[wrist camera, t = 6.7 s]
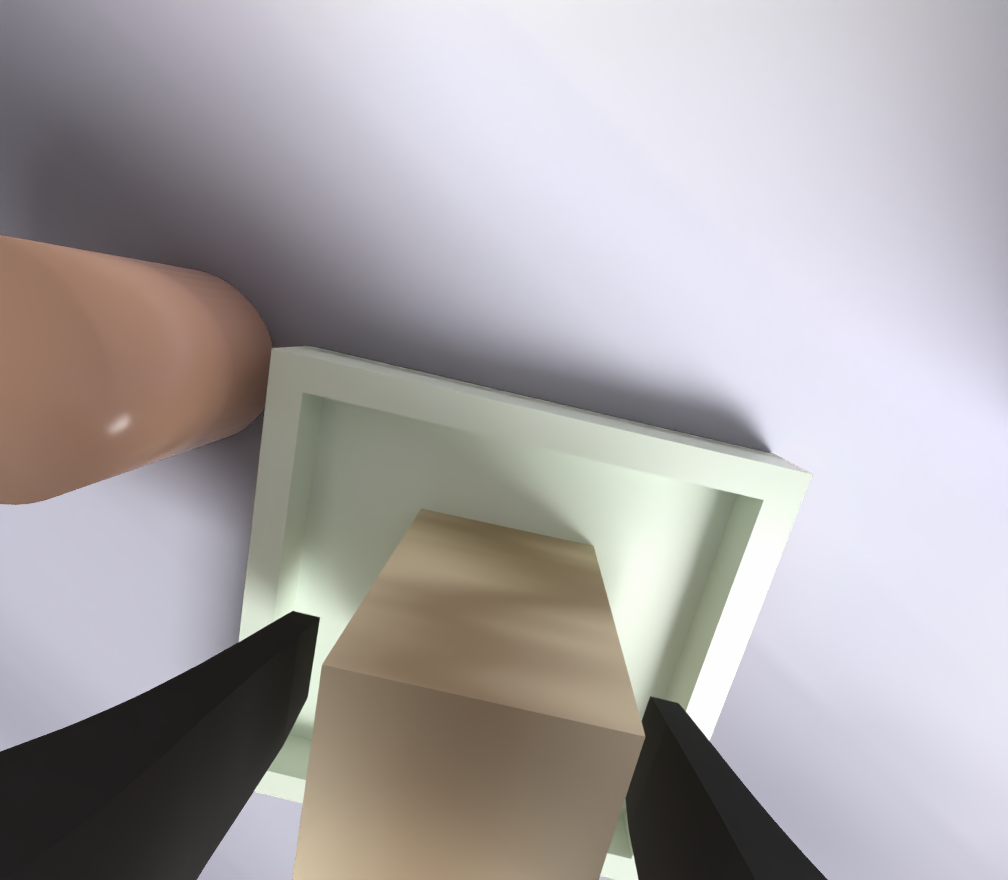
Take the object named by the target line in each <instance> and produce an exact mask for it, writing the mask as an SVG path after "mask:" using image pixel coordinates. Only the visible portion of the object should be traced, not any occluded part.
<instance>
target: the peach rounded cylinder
mask: <svg viewBox="0 0 1008 880" xmlns="http://www.w3.org/2000/svg"><path fill="white" fill-rule="evenodd" d="M272 348H273V344H272V341H271V338H270V335H269V332H268V330H267V328H266V325H265V323H264V321H263V319H262V318H261V316H260V315H259V313H258V311H257V310H256V309H255V307H254V306H253V305H252V304H251V302H250V301H249V300H248V299H247V298H246V297H245V296H244V295H243V294H242V293H241V292H240V291H238V290H237V289H236V288H235V287H233V286H232V285H231V284H229V283H227V282H226V281H224V280H222V279H221V278H218V277H216V276H214V275H212V274H209V273H206V272H203V271H199V270H194V269H188V268H182V267H177V266H171V265H166V264H160V263H154V262H149V261H143V260H138V259H132V258H126V257H121V256H115V255H110V254H104V253H99V252H93V251H87V250H82V249H76V248H71V247H65V246H59V245H54V244H48V243H43V242H37V241H31V240H26V239H20V238H15V237H9V236H3V235H0V504H12V505H18V504H29V503H35V502H39V501H43V500H47V499H50V498H53V497H56V496H59V495H62V494H64V493H67V492H70V491H73V490H76V489H79V488H82V487H85V486H88V485H90V484H93V483H96V482H99V481H102V480H105V479H108V478H111V477H113V476H116V475H119V474H122V473H125V472H128V471H131V470H134V469H137V468H139V467H142V466H145V465H148V464H151V463H154V462H157V461H160V460H162V459H165V458H168V457H171V456H174V455H177V454H180V453H183V452H186V451H188V450H191V449H194V448H197V447H200V446H203V445H206V444H209V443H211V442H214V441H217V440H220V439H223V438H226V437H229V436H231V435H234V434H236V433H238V432H240V431H241V430H243V429H245V428H246V427H247V426H249V425H250V424H251V423H252V422H253V421H254V420H255V419H256V418H257V417H258V416H259V415H260V413H261V412H262V410H263V409H264V408H265V403H266V394H267V385H268V376H269V367H270V359H271V350H272Z"/></svg>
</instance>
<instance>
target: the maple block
mask: <svg viewBox="0 0 1008 880" xmlns="http://www.w3.org/2000/svg"><path fill="white" fill-rule="evenodd" d="M644 740H645V733H644V729H643V726H642V722H641V718H640V715H639V711H638V707H637V704H636V700H635V696H634V693H633V689H632V685H631V682H630V678H629V674H628V671H627V667H626V663H625V659H624V656H623V652H622V648H621V645H620V641H619V637H618V634H617V630H616V626H615V623H614V619H613V615H612V612H611V608H610V604H609V601H608V597H607V593H606V590H605V586H604V582H603V578H602V575H601V571H600V567H599V564H598V560H597V556H596V553H595V549H594V546H591V545H587V544H582V543H578V542H573V541H568V540H564V539H559V538H555V537H550V536H545V535H541V534H536V533H532V532H527V531H522V530H518V529H513V528H509V527H504V526H499V525H495V524H490V523H486V522H481V521H476V520H472V519H467V518H463V517H458V516H453V515H449V514H444V513H440V512H435V511H430V510H426V509H421V510H420V511H419V513H418V514H417V516H416V518H415V519H414V521H413V522H412V524H411V525H410V527H409V529H408V530H407V532H406V533H405V535H404V536H403V538H402V540H401V541H400V543H399V544H398V546H397V547H396V549H395V551H394V552H393V554H392V555H391V557H390V558H389V560H388V562H387V563H386V565H385V566H384V568H383V569H382V571H381V573H380V574H379V576H378V577H377V579H376V580H375V582H374V584H373V585H372V587H371V588H370V590H369V591H368V593H367V595H366V596H365V598H364V599H363V601H362V602H361V604H360V606H359V607H358V609H357V610H356V612H355V613H354V615H353V617H352V618H351V620H350V621H349V623H348V624H347V626H346V628H345V629H344V631H343V632H342V634H341V635H340V637H339V639H338V640H337V642H336V643H335V645H334V646H333V648H332V650H331V651H330V653H329V654H328V656H327V657H326V659H325V661H324V662H323V664H322V668H321V675H320V682H319V689H318V697H317V704H316V711H315V718H314V726H313V733H312V740H311V747H310V755H309V762H308V769H307V776H306V784H305V791H304V798H303V806H302V813H301V820H300V827H299V835H298V842H297V849H296V856H295V864H294V871H293V878H292V880H599V877H600V874H601V871H602V868H603V865H604V862H605V859H606V856H607V853H608V850H609V847H610V844H611V840H612V837H613V834H614V831H615V828H616V825H617V822H618V819H619V816H620V813H621V810H622V807H623V804H624V801H625V798H626V795H627V792H628V789H629V785H630V782H631V779H632V776H633V773H634V770H635V767H636V764H637V761H638V758H639V755H640V752H641V749H642V746H643V743H644Z"/></svg>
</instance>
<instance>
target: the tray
mask: <svg viewBox="0 0 1008 880" xmlns="http://www.w3.org/2000/svg"><path fill="white" fill-rule="evenodd" d="M812 476H813V474H811V473H809V472H808V471H806V470H804V469H802V468H800V467H798V466H796V465H794V464H792V463H790V462H788V461H786V460H784V459H782V458H781V457H779V456H777V455H775V454H772V453H768V452H764V451H759V450H755V449H751V448H747V447H742V446H738V445H734V444H729V443H725V442H721V441H717V440H712V439H708V438H704V437H699V436H695V435H691V434H686V433H682V432H678V431H674V430H669V429H665V428H661V427H656V426H652V425H648V424H644V423H639V422H635V421H631V420H626V419H622V418H618V417H614V416H609V415H605V414H601V413H596V412H592V411H588V410H583V409H579V408H575V407H571V406H566V405H562V404H558V403H553V402H549V401H545V400H541V399H536V398H532V397H528V396H523V395H519V394H515V393H510V392H506V391H502V390H498V389H493V388H489V387H485V386H480V385H476V384H472V383H468V382H463V381H459V380H455V379H450V378H446V377H442V376H437V375H433V374H429V373H425V372H420V371H416V370H412V369H407V368H403V367H399V366H395V365H390V364H386V363H382V362H377V361H373V360H369V359H364V358H360V357H356V356H352V355H347V354H343V353H339V352H334V351H330V350H326V349H322V348H317V347H313V346H295V347H281V348H272V350H271V359H270V367H269V376H268V385H267V394H266V403H265V412H264V421H263V429H262V438H261V447H260V456H259V465H258V474H257V483H256V492H255V500H254V509H253V518H252V527H251V536H250V545H249V554H248V563H247V571H246V580H245V589H244V598H243V607H242V616H241V625H240V633H239V642H240V641H242V640H243V639H245V638H247V637H248V636H250V635H252V634H254V633H255V632H257V631H259V630H260V629H262V628H264V627H265V626H267V625H269V624H271V623H272V622H274V621H276V620H277V619H279V618H281V617H283V616H284V615H286V614H288V613H290V612H291V611H296V612H300V613H304V614H308V615H312V616H317V617H320V622H319V628H318V635H317V641H316V648H315V654H314V661H313V667H312V674H311V680H310V686H309V693H308V698H307V700H306V702H305V704H304V706H303V708H302V710H301V712H300V714H299V716H298V718H297V720H296V722H295V724H294V726H293V728H292V730H291V732H290V734H289V736H288V737H287V739H286V741H285V743H284V745H283V747H282V748H281V750H280V752H279V753H278V755H277V756H276V758H275V759H274V761H273V762H272V764H271V766H270V767H269V769H268V770H267V772H266V773H265V775H264V776H263V778H262V779H261V781H260V783H259V784H258V786H257V787H256V789H255V790H254V792H258V793H262V794H266V795H270V796H274V797H278V798H282V799H287V800H291V801H295V802H299V803H303V798H304V791H305V784H306V776H307V769H308V762H309V755H310V747H311V740H312V733H313V726H314V718H315V711H316V704H317V697H318V689H319V682H320V675H321V668H322V664H323V662H324V661H325V659H326V657H327V656H328V654H329V653H330V651H331V650H332V648H333V646H334V645H335V643H336V642H337V640H338V639H339V637H340V635H341V634H342V632H343V631H344V629H345V628H346V626H347V624H348V623H349V621H350V620H351V618H352V617H353V615H354V613H355V612H356V610H357V609H358V607H359V606H360V604H361V602H362V601H363V599H364V598H365V596H366V595H367V593H368V591H369V590H370V588H371V587H372V585H373V584H374V582H375V580H376V579H377V577H378V576H379V574H380V573H381V571H382V569H383V568H384V566H385V565H386V563H387V562H388V560H389V558H390V557H391V555H392V554H393V552H394V551H395V549H396V547H397V546H398V544H399V543H400V541H401V540H402V538H403V536H404V535H405V533H406V532H407V530H408V529H409V527H410V525H411V524H412V522H413V521H414V519H415V518H416V516H417V514H418V513H419V511H420V510H421V509H426V510H430V511H435V512H440V513H444V514H449V515H453V516H458V517H463V518H467V519H472V520H476V521H481V522H486V523H490V524H495V525H499V526H504V527H509V528H513V529H518V530H522V531H527V532H532V533H536V534H541V535H545V536H550V537H555V538H559V539H564V540H568V541H573V542H578V543H582V544H587V545H591V546H594V549H595V553H596V556H597V560H598V564H599V567H600V571H601V575H602V578H603V582H604V586H605V590H606V593H607V597H608V601H609V604H610V608H611V612H612V615H613V619H614V623H615V626H616V630H617V634H618V637H619V641H620V645H621V648H622V652H623V656H624V659H625V663H626V667H627V671H628V674H629V678H630V682H631V685H632V689H633V693H634V696H635V700H636V704H637V707H638V711H639V715H640V718H641V721H642V718H643V715H644V712H645V710H646V707H647V704H648V701H649V698H650V696H651V697H655V698H660V699H664V700H668V701H672V702H676V703H679V704H680V705H681V707H682V708H683V709H684V710H685V711H686V712H687V714H688V715H689V716H690V717H691V719H692V720H693V721H694V722H695V724H696V725H697V726H698V727H699V729H700V730H701V731H702V732H703V734H704V735H705V736H706V737H707V739H708V740H710V738H711V735H712V733H713V730H714V728H715V725H716V722H717V720H718V717H719V715H720V712H721V710H722V707H723V704H724V702H725V699H726V697H727V694H728V692H729V689H730V686H731V684H732V681H733V679H734V676H735V674H736V671H737V668H738V666H739V663H740V661H741V658H742V656H743V653H744V650H745V648H746V645H747V643H748V640H749V638H750V635H751V632H752V630H753V627H754V625H755V622H756V620H757V617H758V614H759V612H760V609H761V607H762V604H763V602H764V599H765V596H766V594H767V591H768V589H769V586H770V584H771V581H772V578H773V576H774V573H775V571H776V568H777V566H778V563H779V560H780V558H781V555H782V553H783V550H784V548H785V545H786V542H787V540H788V537H789V535H790V532H791V530H792V527H793V524H794V522H795V519H796V517H797V514H798V512H799V509H800V506H801V504H802V501H803V499H804V496H805V494H806V491H807V488H808V486H809V483H810V481H811V478H812ZM600 876H603V877H607V878H612V879H616V880H638V875H637V870H636V865H635V860H634V855H633V850H632V845H631V840H630V834H629V829H628V819H627V810H626V799H625V801H624V804H623V807H622V810H621V813H620V816H619V819H618V822H617V825H616V828H615V831H614V834H613V837H612V840H611V844H610V847H609V850H608V853H607V856H606V859H605V862H604V865H603V868H602V871H601V874H600Z"/></svg>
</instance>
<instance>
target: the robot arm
mask: <svg viewBox="0 0 1008 880" xmlns="http://www.w3.org/2000/svg"><path fill="white" fill-rule="evenodd" d="M319 622H320V617H317V616H312V615H308V614H304V613H300V612H296V611H291V612H290V613H288V614H286V615H284V616H283V617H281V618H279V619H277V620H276V621H274V622H272V623H271V624H269V625H267V626H265V627H264V628H262V629H260V630H259V631H257V632H255V633H254V634H252V635H250V636H248V637H247V638H245V639H243V640H242V641H240V642H238V643H237V644H235V645H233V646H231V647H230V648H228V649H226V650H224V651H222V652H221V653H219V654H217V655H215V656H214V657H212V658H210V659H208V660H207V661H205V662H203V663H201V664H199V665H198V666H196V667H194V668H192V669H190V670H188V671H186V672H184V673H182V674H180V675H178V676H176V677H174V678H172V679H170V680H168V681H167V682H165V683H163V684H161V685H159V686H157V687H155V688H153V689H151V690H149V691H147V692H145V693H143V694H141V695H139V696H136V697H134V698H132V699H130V700H128V701H126V702H124V703H121V704H119V705H117V706H115V707H112V708H110V709H108V710H105V711H103V712H101V713H98V714H96V715H94V716H91V717H89V718H87V719H85V720H82V721H80V722H77V723H75V724H73V725H70V726H68V727H65V728H63V729H60V730H57V731H55V732H52V733H49V734H47V735H44V736H41V737H39V738H36V739H33V740H30V741H28V742H25V743H22V744H20V745H17V746H14V747H12V748H9V749H6V750H4V751H1V752H0V880H197V878H198V877H199V875H200V873H201V872H202V870H203V868H204V867H205V865H206V864H207V862H208V860H209V859H210V857H211V856H212V854H213V853H214V851H215V850H216V848H217V847H218V845H219V844H220V842H221V841H222V839H223V838H224V836H225V834H226V833H227V831H228V830H229V828H230V827H231V825H232V824H233V822H234V821H235V819H236V818H237V816H238V815H239V813H240V812H241V810H242V809H243V807H244V805H245V804H246V802H247V801H248V799H249V798H250V796H251V795H252V793H253V792H254V790H255V789H256V787H257V786H258V784H259V783H260V781H261V779H262V778H263V776H264V775H265V773H266V772H267V770H268V769H269V767H270V766H271V764H272V762H273V761H274V759H275V758H276V756H277V755H278V753H279V752H280V750H281V748H282V747H283V745H284V743H285V741H286V739H287V737H288V736H289V734H290V732H291V730H292V728H293V726H294V724H295V722H296V720H297V718H298V716H299V714H300V712H301V710H302V708H303V706H304V704H305V702H306V700H307V698H308V693H309V686H310V680H311V674H312V667H313V661H314V654H315V648H316V641H317V635H318V628H319ZM641 722H642V726H643V729H644V733H645V740H644V743H643V746H642V749H641V752H640V755H639V758H638V761H637V764H636V767H635V770H634V773H633V776H632V779H631V782H630V785H629V789H628V792H627V795H626V798H625V799H626V810H627V819H628V829H629V834H630V840H631V845H632V850H633V855H634V860H635V865H636V870H637V875H638V880H827V879H826V878H825V876H824V875H823V874H822V873H821V872H820V871H819V870H818V869H817V868H816V867H815V866H814V865H813V864H812V863H811V861H810V860H809V859H808V858H807V857H806V856H805V855H804V854H803V853H802V851H801V850H800V849H799V848H798V847H797V846H796V845H795V844H794V842H793V841H792V840H791V839H790V838H789V837H788V836H787V835H786V833H785V832H784V831H783V830H782V829H781V828H780V827H779V826H778V824H777V823H776V822H775V821H774V820H773V819H772V817H771V816H770V815H769V814H768V813H767V812H766V810H765V809H764V808H763V807H762V806H761V804H760V803H759V802H758V801H757V800H756V798H755V797H754V796H753V795H752V794H751V792H750V791H749V790H748V789H747V788H746V786H745V785H744V784H743V783H742V781H741V780H740V779H739V778H738V776H737V775H736V774H735V773H734V772H733V770H732V769H731V768H730V767H729V765H728V764H727V763H726V762H725V760H724V759H723V758H722V756H721V755H720V754H719V753H718V751H717V750H716V749H715V748H714V746H713V745H712V744H711V743H710V741H709V740H708V739H707V737H706V736H705V735H704V734H703V732H702V731H701V730H700V729H699V727H698V726H697V725H696V724H695V722H694V721H693V720H692V719H691V717H690V716H689V715H688V714H687V712H686V711H685V710H684V709H683V708H682V707H681V705H680V704H679V703H676V702H672V701H668V700H664V699H660V698H655V697H651V696H650V698H649V701H648V704H647V707H646V710H645V712H644V715H643V718H642V721H641Z"/></svg>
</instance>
